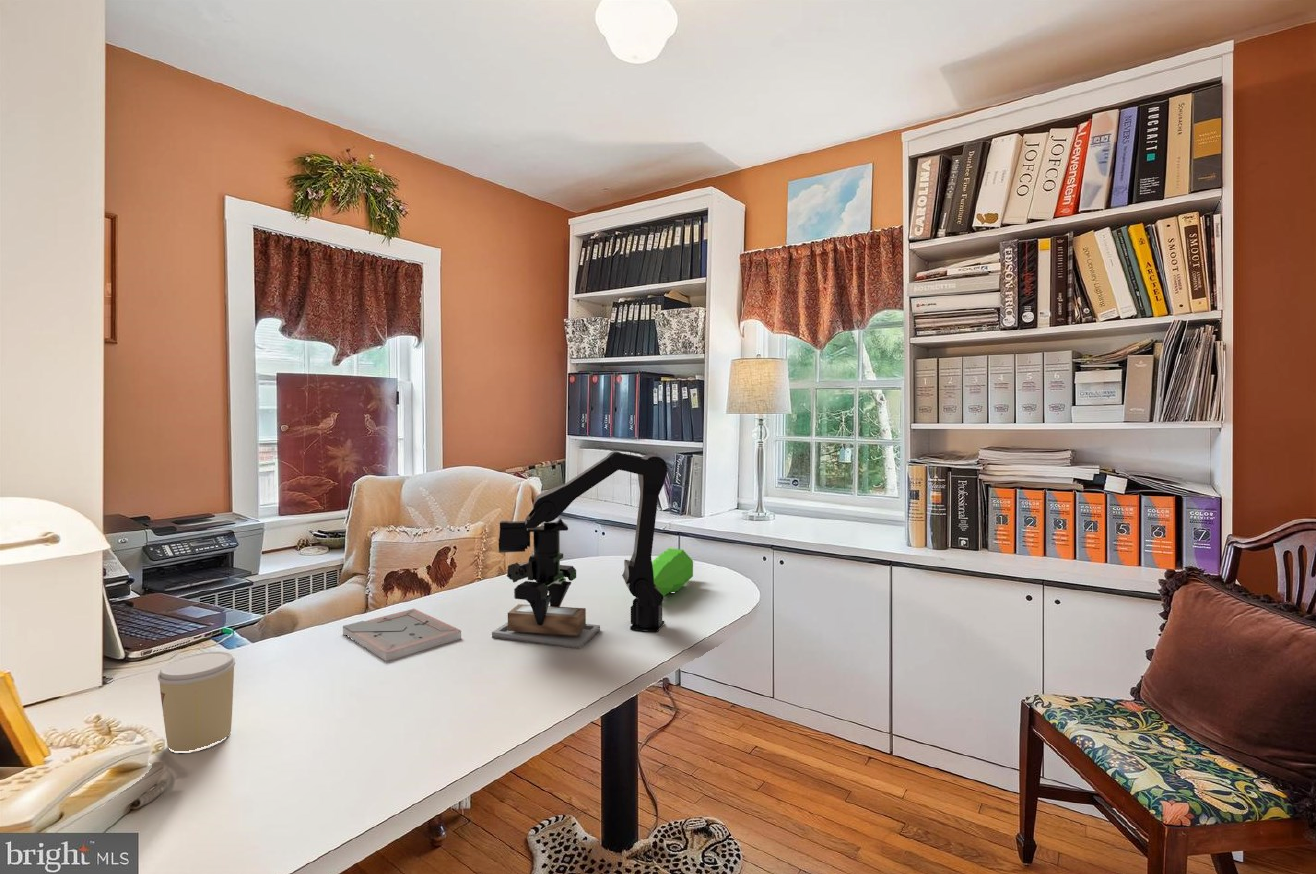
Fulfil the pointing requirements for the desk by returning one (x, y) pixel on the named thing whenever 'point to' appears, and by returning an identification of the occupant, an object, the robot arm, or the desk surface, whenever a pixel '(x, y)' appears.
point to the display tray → (549, 636)
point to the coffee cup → (197, 699)
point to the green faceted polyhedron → (672, 570)
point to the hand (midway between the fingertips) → (547, 619)
